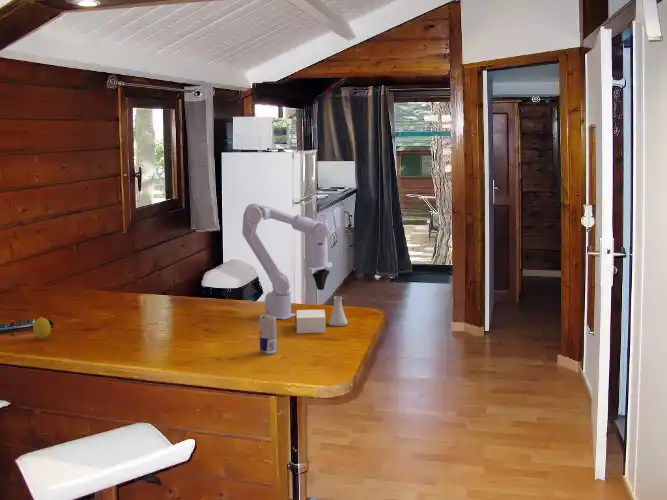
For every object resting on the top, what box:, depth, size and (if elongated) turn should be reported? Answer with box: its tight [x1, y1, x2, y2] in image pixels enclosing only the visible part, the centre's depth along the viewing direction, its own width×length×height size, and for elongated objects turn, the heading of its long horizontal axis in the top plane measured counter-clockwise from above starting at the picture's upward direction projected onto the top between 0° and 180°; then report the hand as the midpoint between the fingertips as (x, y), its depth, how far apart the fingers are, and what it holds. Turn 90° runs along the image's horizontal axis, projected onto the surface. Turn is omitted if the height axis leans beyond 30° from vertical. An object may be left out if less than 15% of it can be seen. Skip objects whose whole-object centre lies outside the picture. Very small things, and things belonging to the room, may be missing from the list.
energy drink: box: [258, 313, 278, 356], centre depth 239 cm, size 5×5×12 cm
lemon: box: [32, 316, 51, 340], centre depth 257 cm, size 6×6×8 cm
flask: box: [327, 295, 349, 327], centre depth 272 cm, size 7×7×10 cm
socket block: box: [294, 309, 327, 334], centre depth 267 cm, size 10×11×6 cm
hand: (320, 289), depth 284 cm, fingers closed
